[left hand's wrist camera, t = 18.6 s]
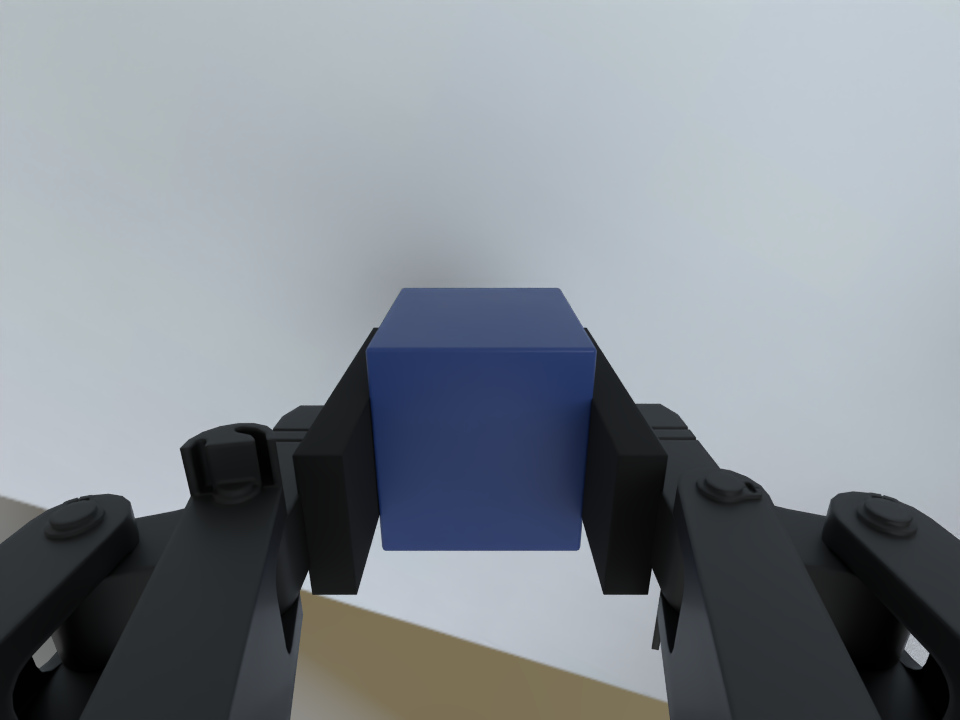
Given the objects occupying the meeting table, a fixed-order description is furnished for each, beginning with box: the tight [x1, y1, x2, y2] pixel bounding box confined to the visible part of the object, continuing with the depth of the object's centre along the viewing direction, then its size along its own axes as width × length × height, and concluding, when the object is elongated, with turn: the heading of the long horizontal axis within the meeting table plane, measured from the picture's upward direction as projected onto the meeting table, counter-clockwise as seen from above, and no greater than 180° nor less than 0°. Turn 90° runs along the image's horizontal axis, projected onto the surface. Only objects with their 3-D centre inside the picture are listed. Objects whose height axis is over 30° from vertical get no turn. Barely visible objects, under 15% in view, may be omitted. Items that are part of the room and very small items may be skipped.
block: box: [366, 288, 597, 551], centre depth 12 cm, size 4×5×5 cm
